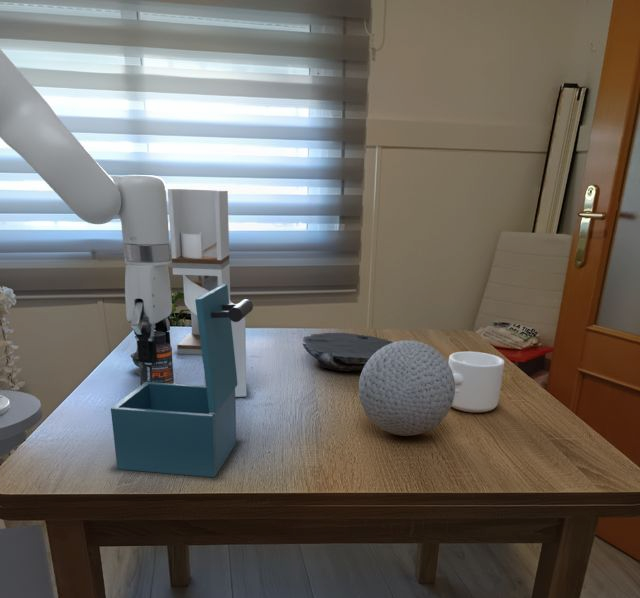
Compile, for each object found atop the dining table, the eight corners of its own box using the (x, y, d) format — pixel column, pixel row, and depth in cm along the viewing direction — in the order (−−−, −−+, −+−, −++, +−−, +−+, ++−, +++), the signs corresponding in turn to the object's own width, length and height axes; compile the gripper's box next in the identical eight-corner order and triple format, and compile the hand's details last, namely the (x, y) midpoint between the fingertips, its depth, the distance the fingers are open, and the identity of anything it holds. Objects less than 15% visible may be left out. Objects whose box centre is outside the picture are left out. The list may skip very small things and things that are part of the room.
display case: (188, 341, 142) (180, 189, 129) (231, 343, 142) (227, 190, 129) (177, 353, 132) (167, 189, 118) (223, 355, 132) (219, 190, 119)
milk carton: (241, 385, 112) (239, 286, 105) (246, 397, 106) (245, 293, 99) (204, 387, 111) (200, 287, 103) (207, 399, 104) (203, 294, 97)
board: (354, 347, 143) (356, 327, 141) (419, 369, 127) (422, 346, 125) (281, 359, 130) (281, 337, 128) (343, 386, 114) (344, 361, 112)
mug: (425, 395, 111) (430, 349, 107) (472, 391, 114) (478, 347, 110) (457, 417, 100) (464, 367, 97) (507, 413, 103) (516, 364, 100)
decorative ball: (360, 411, 101) (366, 327, 95) (446, 419, 99) (457, 334, 93) (351, 446, 88) (357, 350, 82) (451, 456, 85) (464, 358, 80)
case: (117, 469, 78) (110, 408, 74) (150, 435, 88) (145, 381, 85) (214, 477, 77) (212, 416, 73) (236, 442, 87) (235, 387, 84)
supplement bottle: (155, 400, 103) (150, 338, 98) (134, 393, 106) (128, 332, 102) (181, 392, 107) (177, 333, 103) (160, 385, 111) (156, 327, 106)
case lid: (194, 299, 68) (234, 298, 67) (221, 284, 78) (256, 283, 78) (209, 413, 73) (246, 413, 72) (232, 384, 84) (264, 384, 83)
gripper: (146, 248, 105) (153, 344, 112) (102, 258, 90) (114, 369, 97) (185, 250, 105) (190, 346, 112) (148, 261, 89) (157, 372, 96)
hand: (155, 356), depth 104 cm, fingers closed on supplement bottle, 6 cm apart
